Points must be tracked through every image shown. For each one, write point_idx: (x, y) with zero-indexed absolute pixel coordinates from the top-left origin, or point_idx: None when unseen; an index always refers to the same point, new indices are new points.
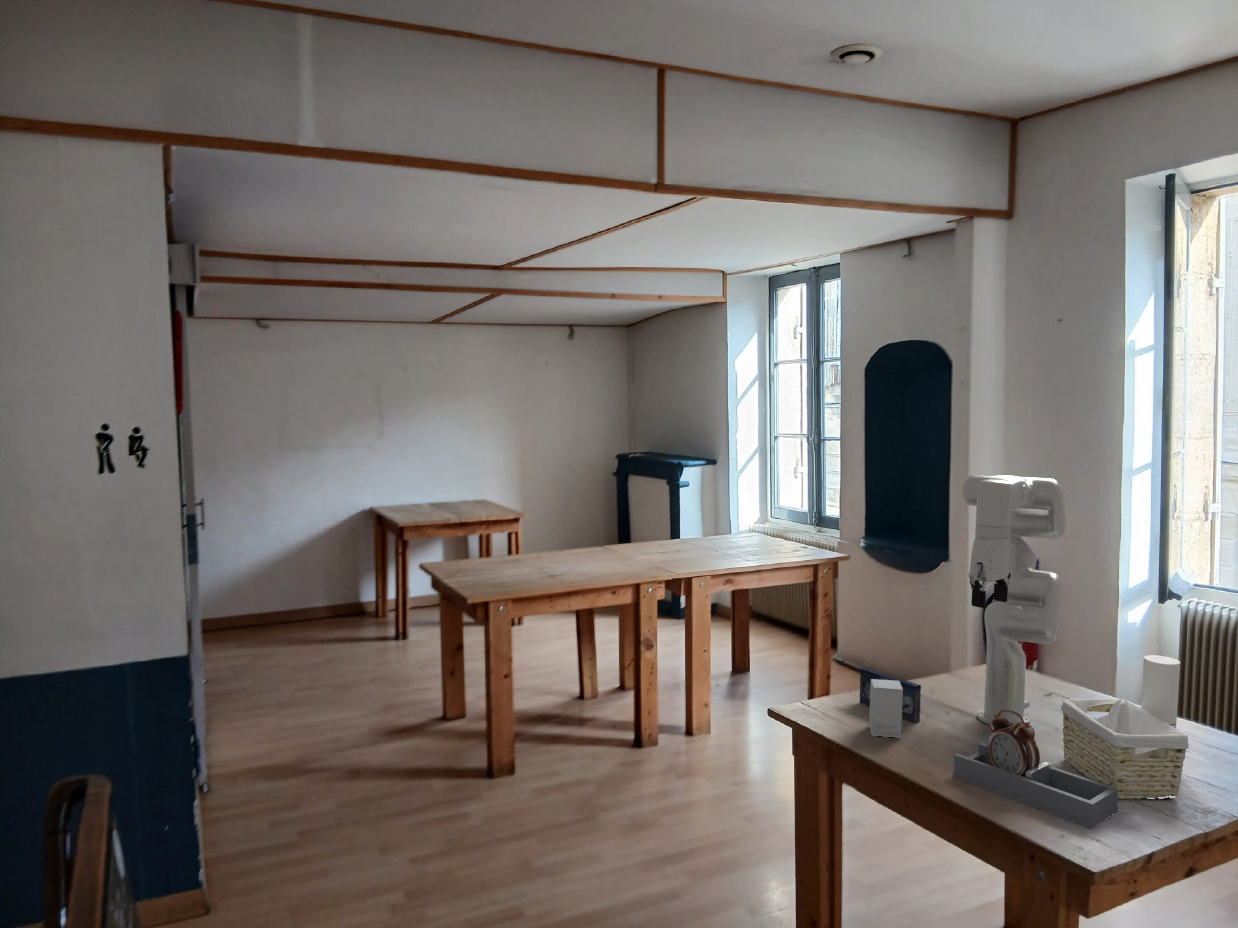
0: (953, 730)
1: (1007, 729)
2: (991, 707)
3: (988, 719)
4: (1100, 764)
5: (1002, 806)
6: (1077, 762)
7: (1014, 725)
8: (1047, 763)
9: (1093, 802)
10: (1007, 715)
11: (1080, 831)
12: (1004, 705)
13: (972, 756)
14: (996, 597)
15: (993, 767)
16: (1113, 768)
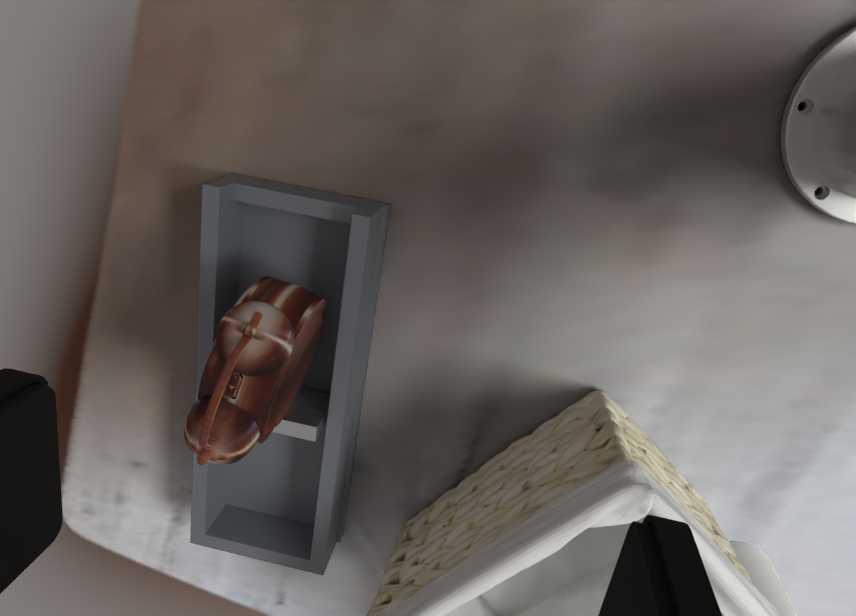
0: (632, 3)
1: (210, 378)
2: (850, 95)
3: (812, 87)
4: (432, 534)
5: (166, 336)
6: (525, 445)
7: (802, 193)
8: (309, 435)
9: (201, 542)
10: (830, 165)
11: (187, 489)
12: (848, 157)
13: (312, 205)
14: (628, 584)
15: (206, 310)
16: (383, 577)
